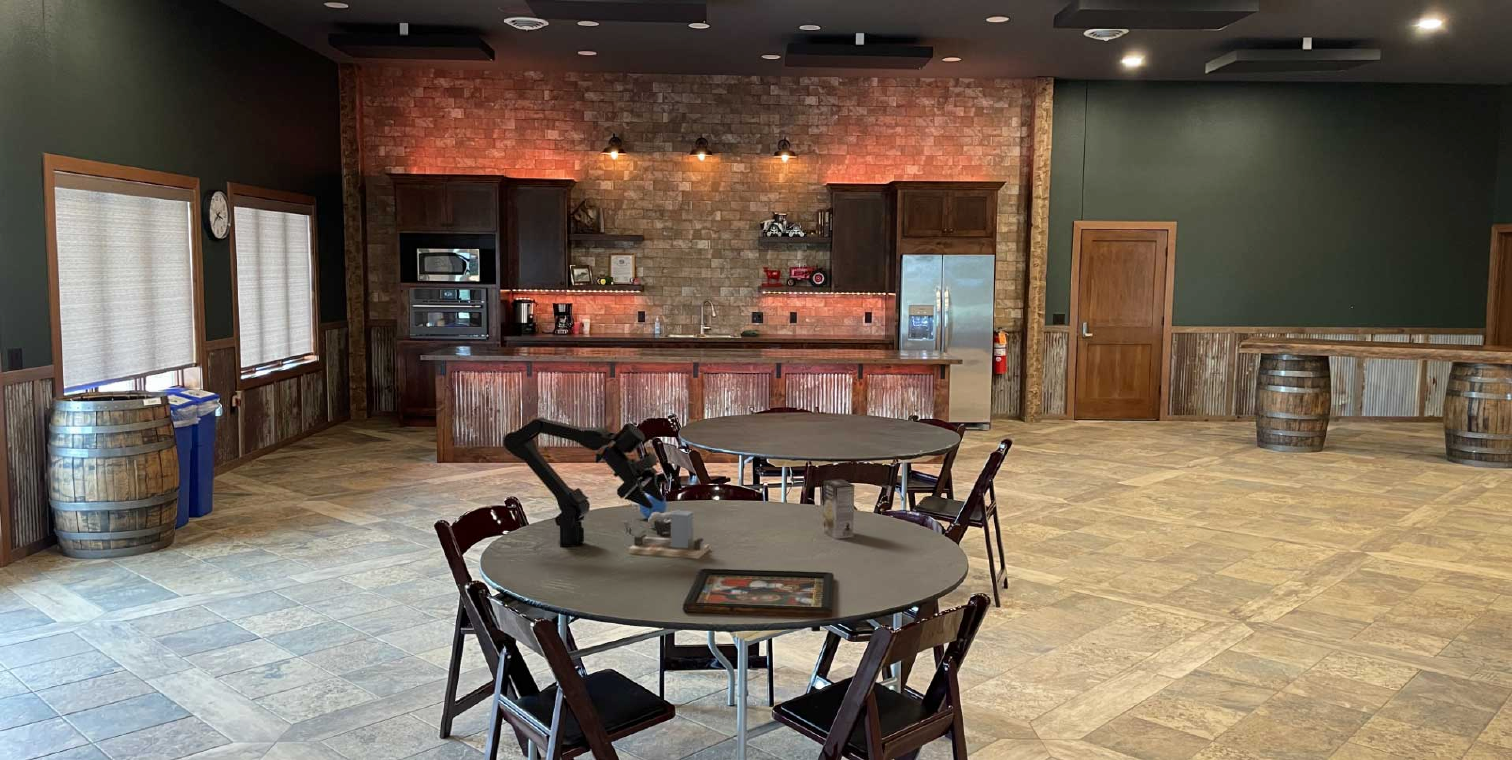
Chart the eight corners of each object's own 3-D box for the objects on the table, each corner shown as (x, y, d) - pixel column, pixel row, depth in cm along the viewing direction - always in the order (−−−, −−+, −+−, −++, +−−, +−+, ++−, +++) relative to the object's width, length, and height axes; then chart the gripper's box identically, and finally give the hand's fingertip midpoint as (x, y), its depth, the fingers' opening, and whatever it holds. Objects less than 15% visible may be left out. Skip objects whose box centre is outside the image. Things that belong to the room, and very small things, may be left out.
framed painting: (831, 576, 278) (831, 565, 278) (847, 620, 243) (847, 608, 243) (686, 576, 277) (686, 565, 277) (682, 621, 242) (681, 608, 242)
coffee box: (822, 532, 322) (822, 480, 321) (840, 530, 325) (841, 478, 323) (835, 539, 314) (835, 486, 312) (854, 537, 316) (855, 484, 314)
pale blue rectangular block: (670, 546, 297) (670, 514, 296) (676, 542, 301) (676, 510, 300) (687, 548, 295) (687, 515, 294) (692, 543, 300) (692, 511, 299)
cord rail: (628, 553, 297) (628, 539, 296) (641, 544, 307) (641, 530, 307) (698, 559, 292) (698, 544, 291) (709, 549, 302) (709, 535, 301)
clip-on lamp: (624, 545, 318) (682, 532, 317) (618, 525, 317) (677, 512, 316) (629, 531, 329) (685, 519, 329) (624, 512, 328) (680, 500, 327)
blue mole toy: (632, 513, 345) (632, 488, 344) (668, 514, 345) (668, 488, 344) (626, 522, 333) (626, 496, 332) (663, 522, 333) (663, 496, 332)
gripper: (627, 450, 289) (665, 492, 288) (650, 439, 307) (687, 479, 306) (600, 477, 292) (638, 518, 291) (625, 465, 310) (661, 504, 309)
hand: (657, 504), depth 299 cm, fingers open, 9 cm apart
